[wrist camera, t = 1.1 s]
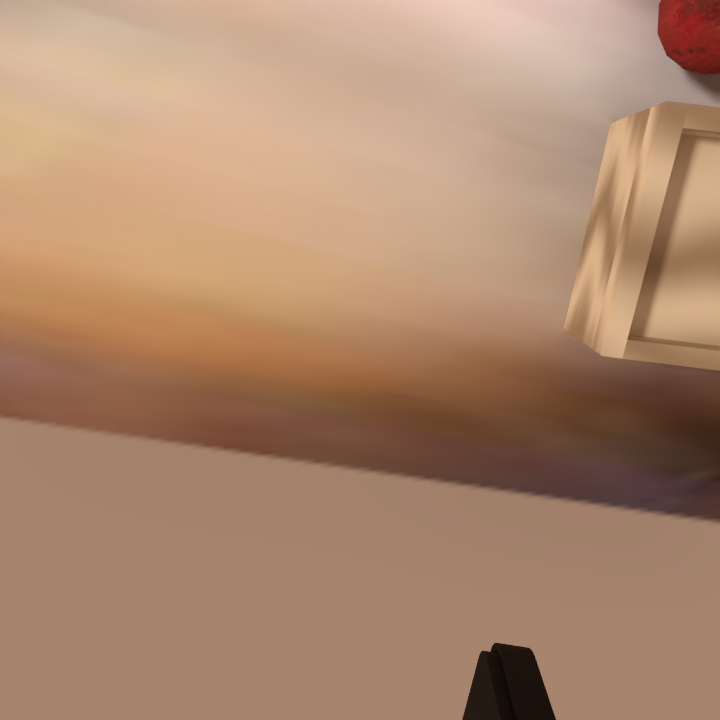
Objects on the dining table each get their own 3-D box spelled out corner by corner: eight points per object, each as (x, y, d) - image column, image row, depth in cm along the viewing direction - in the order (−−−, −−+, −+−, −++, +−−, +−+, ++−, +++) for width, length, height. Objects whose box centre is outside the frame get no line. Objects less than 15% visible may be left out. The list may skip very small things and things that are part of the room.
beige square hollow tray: (608, 124, 30) (666, 101, 24) (820, 149, 30) (934, 132, 24) (562, 329, 34) (602, 356, 27) (753, 352, 33) (838, 385, 27)
